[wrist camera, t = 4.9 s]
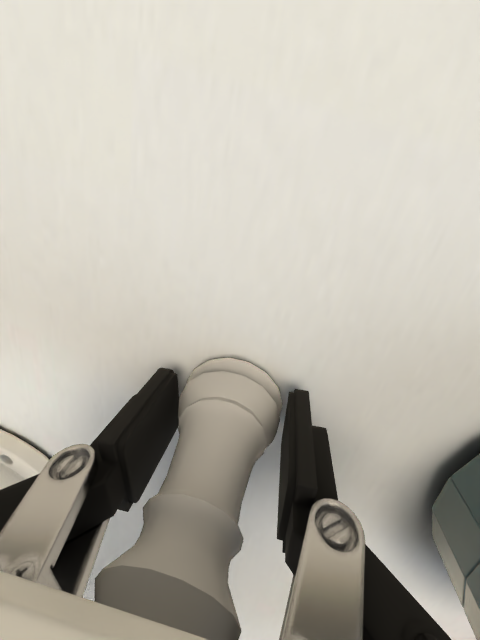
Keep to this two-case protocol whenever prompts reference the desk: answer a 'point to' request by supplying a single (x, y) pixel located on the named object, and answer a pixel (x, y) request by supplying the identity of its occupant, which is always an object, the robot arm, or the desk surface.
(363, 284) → the desk surface
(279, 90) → the desk surface
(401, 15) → the desk surface
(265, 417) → the rook chess piece
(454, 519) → the bowl
